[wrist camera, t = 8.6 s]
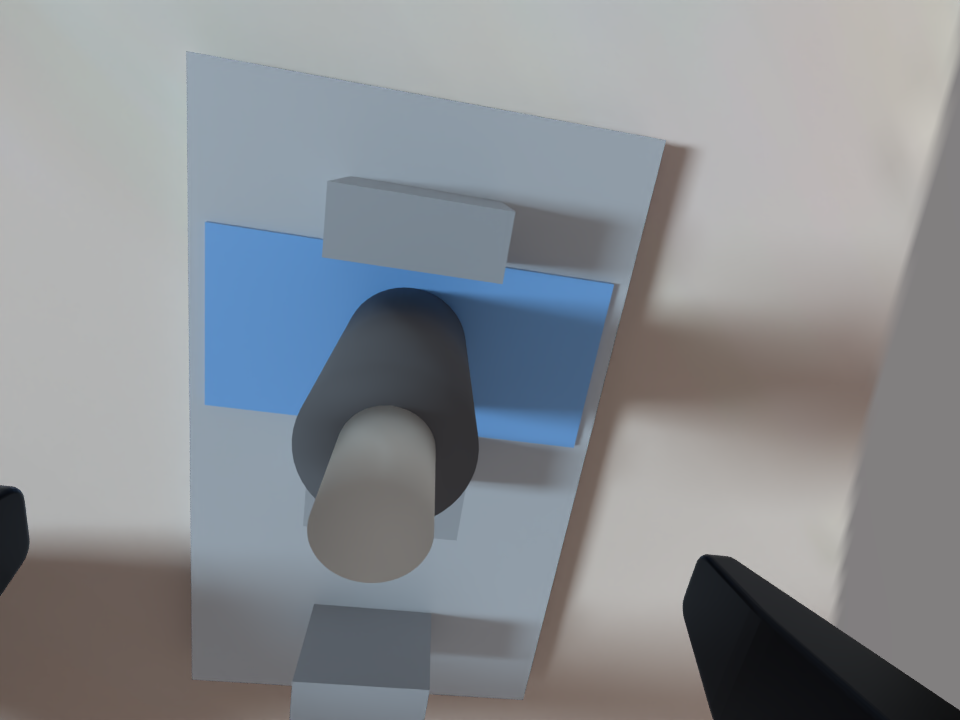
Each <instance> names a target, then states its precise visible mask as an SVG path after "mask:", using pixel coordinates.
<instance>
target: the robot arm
mask: <svg viewBox="0 0 960 720" xmlns="http://www.w3.org/2000/svg"><path fill="white" fill-rule="evenodd" d="M28 549H29V532H28V524H27V516H26V508H25V500H24V496H23V494H22V492H21V491H20V490H19V489H18V488H16V487H12V486H2V485H0V596H1V594H2V593H3V591H4V590H5V588H6V587H7V585H8V584H9V582H10V581H11V579H12V578H13V577H14V575H15V574H16V572H17V571H18V569H19V568H20V566H21V565H22V563H23V561H24V560H25V558H26V555H27V553H28ZM683 616H684V620H685V623H686V627H687V631H688V634H689V638H690V641H691V645H692V648H693V652H694V655H695V659H696V662H697V666H698V669H699V673H700V676H701V680H702V683H703V687H704V690H705V694H706V697H707V701H708V704H709V708H710V711H711V714H712V717H713V720H960V710H959V709H957V708H956V707H954V706H953V705H951V704H950V703H948V702H946V701H945V700H944V699H942V698H941V697H939V696H938V695H936V694H935V693H933V692H932V691H930V690H929V689H927V688H926V687H924V686H923V685H921V684H920V683H918V682H917V681H915V680H914V679H912V678H911V677H909V676H908V675H906V674H905V673H903V672H902V671H900V670H899V669H897V668H896V667H894V666H893V665H891V664H890V663H888V662H887V661H886V660H884V659H883V658H881V657H880V656H878V655H877V654H875V653H874V652H872V651H871V650H869V649H868V648H866V647H865V646H863V645H861V644H860V643H859V642H857V641H856V640H854V639H853V638H851V637H850V636H848V635H847V634H845V633H844V632H842V631H841V630H839V629H838V628H836V627H835V626H833V625H832V624H830V623H829V622H827V621H826V620H825V619H823V618H822V617H820V616H819V615H817V614H816V613H814V612H813V611H811V610H810V609H808V608H807V607H805V606H804V605H802V604H801V603H799V602H798V601H796V600H795V599H793V598H792V597H790V596H789V595H787V594H786V593H784V592H783V591H781V590H780V589H778V588H777V587H775V586H774V585H772V584H771V583H769V582H768V581H766V580H765V579H763V578H762V577H760V576H759V575H757V574H756V573H755V572H753V571H752V570H750V569H749V568H747V567H746V566H744V565H743V564H741V563H740V562H738V561H737V560H735V559H733V558H731V557H728V556H719V555H709V554H705V555H703V556H701V557H700V558H699V559H698V561H697V563H696V565H695V568H694V571H693V574H692V577H691V579H690V582H689V585H688V588H687V591H686V593H685V596H684V600H683Z"/></svg>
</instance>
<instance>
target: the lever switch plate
mask: <svg viewBox="0 0 960 720" xmlns="http://www.w3.org/2000/svg"><path fill="white" fill-rule="evenodd" d="M186 60H187V173H188V287H189V400H190V513H191V627H192V680H207V681H223V682H240V683H256V684H272V685H288V686H292V691H291V705H290V720H424V719H425V713H426V708H427V702H428V697H429V694H435V695H451V696H467V697H484V698H500V699H516V700H523V698H524V694H525V690H526V686H527V682H528V678H529V674H530V670H531V667H532V663H533V659H534V655H535V651H536V647H537V643H538V639H539V635H540V631H541V627H542V624H543V620H544V616H545V612H546V608H547V604H548V600H549V596H550V592H551V588H552V584H553V581H554V577H555V573H556V569H557V565H558V561H559V557H560V553H561V549H562V545H563V541H564V537H565V534H566V530H567V526H568V522H569V518H570V514H571V510H572V506H573V502H574V498H575V494H576V491H577V487H578V483H579V479H580V475H581V471H582V467H583V463H584V459H585V455H586V451H587V447H588V444H589V440H590V436H591V432H592V428H593V424H594V420H595V416H596V412H597V408H598V404H599V401H600V397H601V393H602V389H603V385H604V381H605V377H606V373H607V369H608V365H609V361H610V358H611V354H612V350H613V346H614V342H615V338H616V334H617V330H618V326H619V322H620V318H621V314H622V311H623V307H624V303H625V299H626V295H627V291H628V287H629V283H630V279H631V275H632V271H633V268H634V264H635V260H636V256H637V252H638V248H639V244H640V240H641V236H642V232H643V228H644V224H645V221H646V217H647V213H648V209H649V205H650V201H651V197H652V193H653V189H654V185H655V181H656V178H657V174H658V170H659V166H660V162H661V158H662V154H663V150H664V146H665V142H666V140H662V139H656V138H651V137H646V136H640V135H635V134H629V133H624V132H619V131H613V130H608V129H603V128H597V127H592V126H586V125H581V124H576V123H570V122H565V121H560V120H554V119H549V118H543V117H538V116H533V115H527V114H522V113H517V112H511V111H506V110H500V109H495V108H490V107H484V106H479V105H474V104H468V103H463V102H457V101H452V100H447V99H441V98H436V97H431V96H425V95H420V94H414V93H409V92H404V91H398V90H393V89H388V88H382V87H377V86H371V85H366V84H361V83H355V82H350V81H345V80H339V79H334V78H328V77H323V76H318V75H312V74H307V73H302V72H296V71H291V70H285V69H280V68H275V67H269V66H264V65H259V64H253V63H248V62H242V61H237V60H232V59H226V58H221V57H216V56H210V55H205V54H199V53H194V52H189V51H186ZM403 287H406V288H415V289H420V290H423V291H426V292H429V293H431V294H433V295H435V296H437V297H438V298H440V299H441V300H443V301H444V302H445V303H446V304H447V305H449V306H450V308H451V309H452V310H453V311H454V312H455V314H456V315H457V317H458V318H459V320H460V322H461V325H462V327H463V330H464V334H465V340H466V348H467V355H468V363H469V370H470V378H471V386H472V393H473V401H474V408H475V416H476V423H477V431H478V439H479V454H478V462H477V465H476V469H475V472H474V475H473V477H472V479H471V481H470V483H469V485H468V486H467V488H466V490H465V491H464V492H463V493H462V495H461V496H460V497H459V498H458V499H457V500H456V501H455V502H454V503H453V504H452V505H451V506H450V507H448V508H447V509H446V510H444V511H443V512H441V513H440V514H438V515H436V516H434V539H433V543H432V546H431V549H430V551H429V553H428V555H427V556H426V558H425V559H424V560H423V562H422V563H421V564H420V565H419V566H418V567H417V568H415V569H414V570H413V571H411V572H410V573H408V574H406V575H404V576H402V577H400V578H398V579H395V580H391V581H387V582H381V583H363V582H356V581H352V580H349V579H346V578H343V577H341V576H339V575H337V574H335V573H333V572H332V571H330V570H329V569H327V568H326V567H325V566H324V565H323V564H322V563H321V562H320V561H319V560H318V559H317V557H316V556H315V554H314V553H313V551H312V549H311V547H310V544H309V541H308V536H307V524H308V518H309V515H310V512H311V510H312V507H313V504H314V501H315V498H314V497H313V496H312V495H311V494H310V492H309V491H308V490H307V488H306V487H305V485H304V484H303V482H302V481H301V479H300V477H299V475H298V473H297V470H296V467H295V464H294V460H293V454H292V434H293V428H294V424H295V421H296V418H297V416H298V413H299V411H300V409H301V407H302V405H303V404H304V402H305V400H306V398H307V396H308V395H309V393H310V391H311V389H312V387H313V386H314V384H315V382H316V380H317V378H318V377H319V375H320V373H321V371H322V370H323V368H324V366H325V364H326V362H327V361H328V359H329V357H330V355H331V353H332V352H333V350H334V348H335V346H336V344H337V343H338V341H339V339H340V337H341V335H342V334H343V332H344V330H345V328H346V327H347V325H348V323H349V321H350V319H351V318H352V316H353V314H354V313H355V311H356V310H357V309H358V308H359V307H360V305H361V304H362V303H364V302H365V301H366V300H367V299H369V298H370V297H372V296H373V295H375V294H377V293H379V292H382V291H385V290H388V289H393V288H403Z"/></svg>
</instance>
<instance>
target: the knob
mask: <svg viewBox="0 0 960 720" xmlns="http://www.w3.org/2000/svg"><path fill="white" fill-rule="evenodd" d="M292 454H293V460H294V464H295V467H296V470H297V473H298V475H299V477H300V479H301V481H302V482H303V484H304V485H305V487H306V488H307V490H308V491H309V492H310V494H311V495H312V496H313V497H314V498H315V501H314V504H313V507H312V510H311V512H310V515H309V518H308V524H307V536H308V541H309V544H310V547H311V549H312V551H313V553H314V554H315V556H316V557H317V559H318V560H319V561H320V562H321V563H322V564H323V565H324V566H325V567H326V568H327V569H329V570H330V571H332V572H333V573H335V574H337V575H339V576H341V577H343V578H346V579H349V580H352V581H356V582H363V583H381V582H387V581H391V580H395V579H398V578H400V577H402V576H404V575H406V574H408V573H410V572H411V571H413V570H414V569H415V568H417V567H418V566H419V565H420V564H421V563H422V562H423V560H424V559H425V558H426V556H427V555H428V553H429V551H430V549H431V546H432V543H433V539H434V516H436V515H438V514H440V513H441V512H443V511H444V510H446V509H447V508H448V507H450V506H451V505H452V504H453V503H454V502H455V501H456V500H457V499H458V498H459V497H460V496H461V495H462V493H463V492H464V491H465V490H466V488H467V486H468V485H469V483H470V481H471V479H472V477H473V475H474V472H475V469H476V465H477V462H478V454H479V439H478V431H477V423H476V416H475V408H474V401H473V393H472V386H471V378H470V370H469V363H468V355H467V348H466V340H465V334H464V330H463V327H462V325H461V322H460V320H459V318H458V317H457V315H456V314H455V312H454V311H453V310H452V309H451V308H450V306H449V305H447V304H446V303H445V302H444V301H443V300H441V299H440V298H438V297H437V296H435V295H433V294H431V293H429V292H426V291H423V290H420V289H415V288H406V287H403V288H393V289H388V290H385V291H382V292H379V293H377V294H375V295H373V296H372V297H370V298H369V299H367V300H366V301H365V302H364V303H362V304H361V305H360V307H359V308H358V309H357V310H356V311H355V313H354V314H353V316H352V318H351V319H350V321H349V323H348V325H347V327H346V328H345V330H344V332H343V334H342V335H341V337H340V339H339V341H338V343H337V344H336V346H335V348H334V350H333V352H332V353H331V355H330V357H329V359H328V361H327V362H326V364H325V366H324V368H323V370H322V371H321V373H320V375H319V377H318V378H317V380H316V382H315V384H314V386H313V387H312V389H311V391H310V393H309V395H308V396H307V398H306V400H305V402H304V404H303V405H302V407H301V409H300V411H299V413H298V416H297V418H296V421H295V424H294V428H293V434H292Z"/></svg>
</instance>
